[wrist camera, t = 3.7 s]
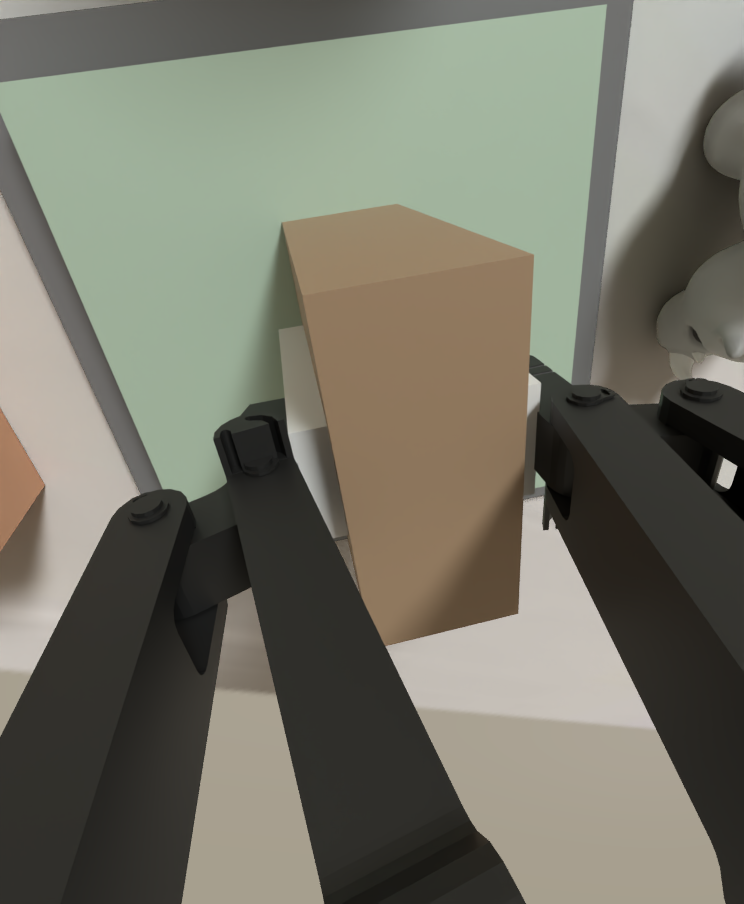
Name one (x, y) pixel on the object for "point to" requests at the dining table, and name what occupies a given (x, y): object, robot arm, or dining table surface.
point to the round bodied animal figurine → (712, 268)
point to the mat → (249, 28)
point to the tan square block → (14, 481)
